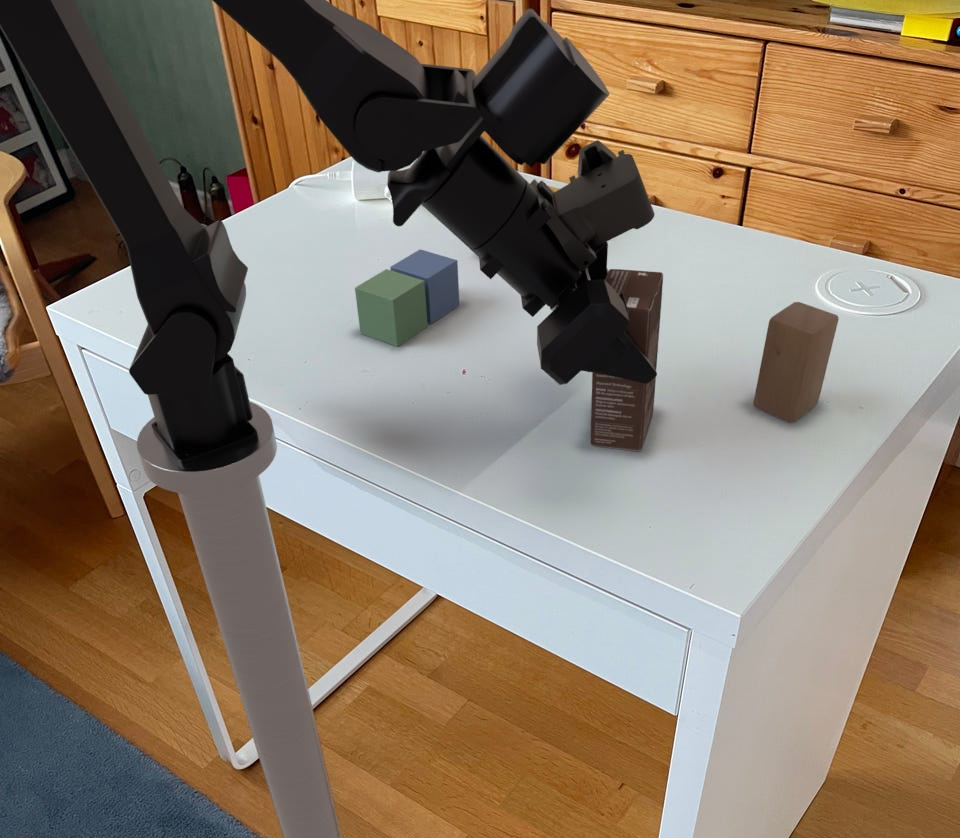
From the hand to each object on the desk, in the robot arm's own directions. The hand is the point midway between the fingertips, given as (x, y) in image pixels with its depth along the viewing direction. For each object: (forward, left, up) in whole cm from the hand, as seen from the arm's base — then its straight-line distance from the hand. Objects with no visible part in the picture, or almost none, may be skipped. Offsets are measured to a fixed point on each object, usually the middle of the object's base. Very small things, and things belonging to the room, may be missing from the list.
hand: (644, 354), depth 74 cm
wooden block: (+12, -5, -7) cm, 14 cm away
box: (-1, +1, -7) cm, 7 cm away
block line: (+4, +30, -7) cm, 31 cm away
